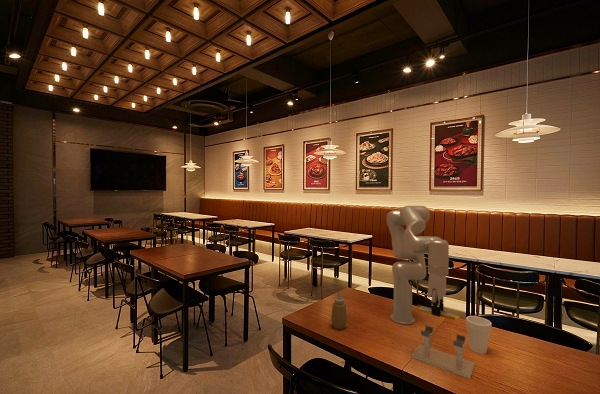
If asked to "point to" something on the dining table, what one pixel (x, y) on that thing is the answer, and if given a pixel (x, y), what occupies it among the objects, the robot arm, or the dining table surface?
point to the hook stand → (444, 355)
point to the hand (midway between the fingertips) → (437, 313)
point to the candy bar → (442, 313)
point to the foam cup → (478, 333)
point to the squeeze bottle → (339, 313)
